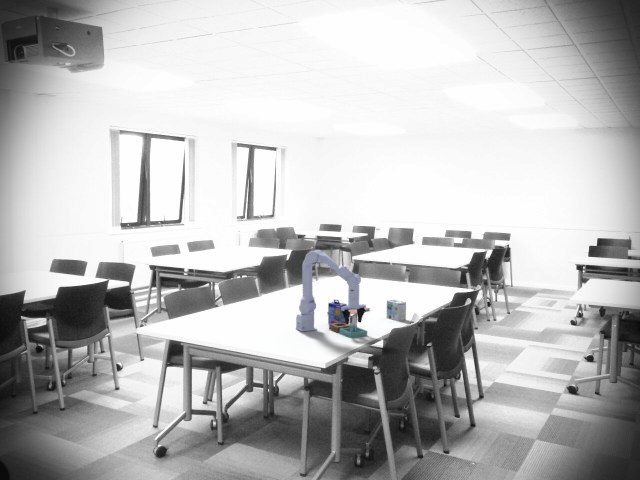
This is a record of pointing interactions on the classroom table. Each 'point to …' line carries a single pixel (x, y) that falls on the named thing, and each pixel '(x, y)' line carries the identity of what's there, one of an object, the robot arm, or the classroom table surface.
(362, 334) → the tray
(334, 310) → the ink cartridge box
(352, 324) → the steel pin
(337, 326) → the hitch block
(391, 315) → the light bulb box
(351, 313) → the notebook
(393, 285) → the classroom table surface
